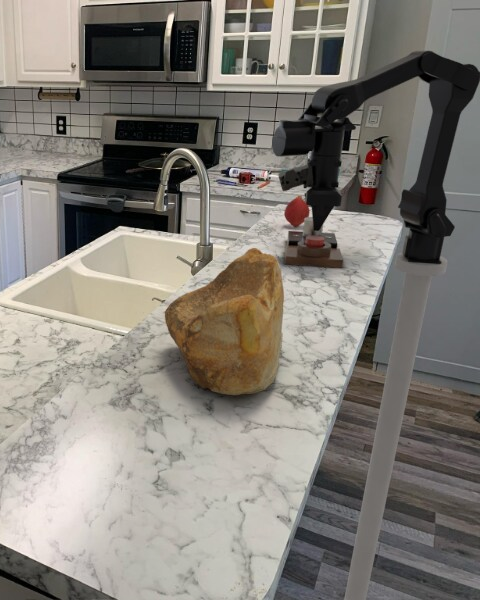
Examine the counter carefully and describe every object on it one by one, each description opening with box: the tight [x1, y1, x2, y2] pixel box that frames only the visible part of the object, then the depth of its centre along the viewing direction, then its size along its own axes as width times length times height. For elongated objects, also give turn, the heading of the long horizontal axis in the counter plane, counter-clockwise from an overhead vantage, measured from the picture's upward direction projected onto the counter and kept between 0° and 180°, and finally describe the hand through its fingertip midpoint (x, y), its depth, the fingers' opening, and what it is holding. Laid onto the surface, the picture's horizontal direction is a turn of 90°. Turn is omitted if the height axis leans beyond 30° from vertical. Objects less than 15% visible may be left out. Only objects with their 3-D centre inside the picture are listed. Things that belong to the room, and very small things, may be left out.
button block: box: [284, 240, 344, 269], centre depth 128 cm, size 11×8×4 cm
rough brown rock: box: [164, 247, 285, 396], centre depth 86 cm, size 23×17×15 cm
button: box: [305, 236, 324, 247], centre depth 127 cm, size 4×4×2 cm
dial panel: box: [286, 230, 338, 248], centre depth 136 cm, size 10×8×3 cm
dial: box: [302, 216, 324, 238], centre depth 135 cm, size 4×4×4 cm
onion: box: [284, 194, 310, 228], centre depth 151 cm, size 6×6×8 cm
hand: (316, 230), depth 127 cm, fingers closed
